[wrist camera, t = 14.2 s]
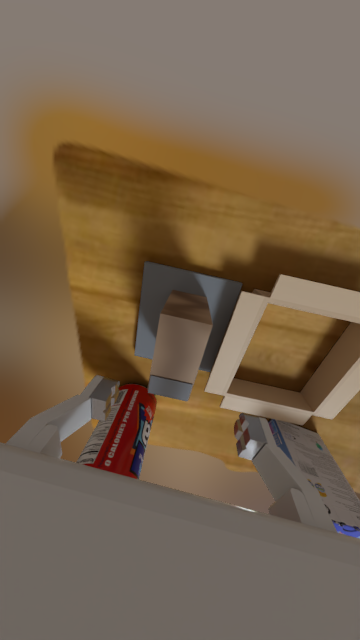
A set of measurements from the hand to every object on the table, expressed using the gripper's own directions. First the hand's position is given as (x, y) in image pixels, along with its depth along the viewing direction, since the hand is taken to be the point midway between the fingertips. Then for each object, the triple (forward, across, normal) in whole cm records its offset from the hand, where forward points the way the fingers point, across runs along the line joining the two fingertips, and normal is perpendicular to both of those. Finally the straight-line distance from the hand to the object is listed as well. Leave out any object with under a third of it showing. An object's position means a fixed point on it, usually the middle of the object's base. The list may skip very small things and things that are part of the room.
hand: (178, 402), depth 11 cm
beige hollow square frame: (+14, -14, +2) cm, 20 cm away
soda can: (+14, +6, +18) cm, 23 cm away
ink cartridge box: (+14, -23, +18) cm, 33 cm away
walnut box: (+13, +1, +1) cm, 13 cm away
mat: (+14, +1, +1) cm, 14 cm away
